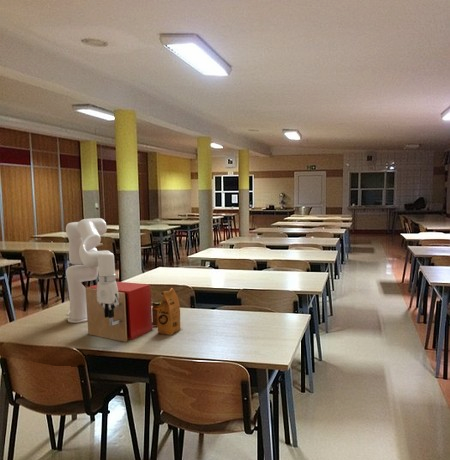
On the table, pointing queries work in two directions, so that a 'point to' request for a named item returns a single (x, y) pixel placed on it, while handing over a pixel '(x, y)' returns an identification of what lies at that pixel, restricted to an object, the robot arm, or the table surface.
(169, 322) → the coffee package
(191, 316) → the table surface
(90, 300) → the door
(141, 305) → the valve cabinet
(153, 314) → the condiment
